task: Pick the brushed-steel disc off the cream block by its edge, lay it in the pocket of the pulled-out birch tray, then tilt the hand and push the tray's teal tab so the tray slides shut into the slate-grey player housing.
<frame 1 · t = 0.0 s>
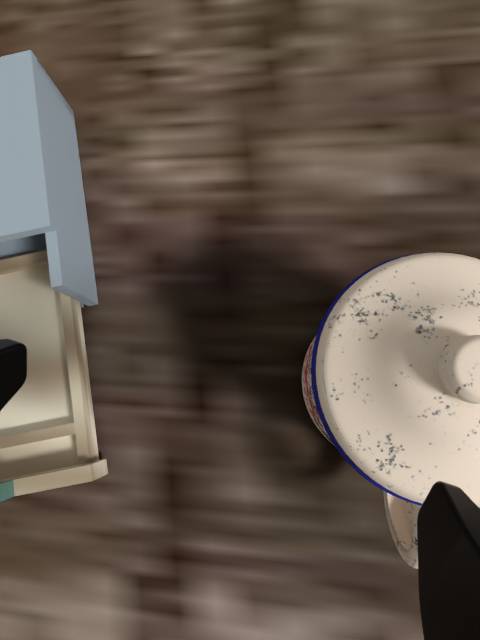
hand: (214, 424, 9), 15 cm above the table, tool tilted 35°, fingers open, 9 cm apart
teacup with lid: (378, 408, 23), on the table
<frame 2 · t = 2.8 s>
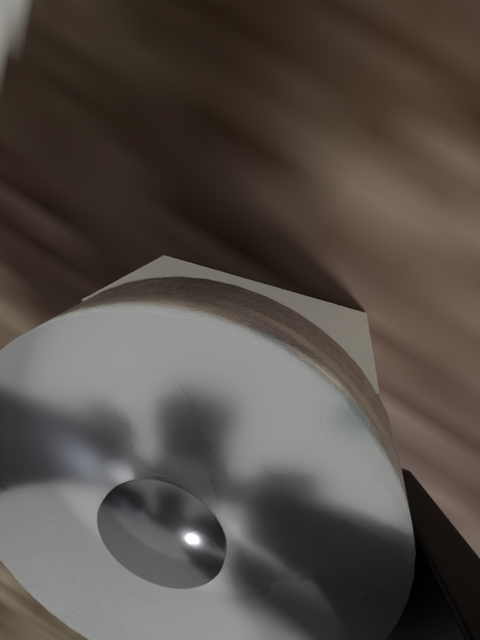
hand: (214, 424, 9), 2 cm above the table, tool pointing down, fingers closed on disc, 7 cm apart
disc: (196, 461, 8), point 4 cm above the table, touching gripper, pedestal
pedestal: (239, 371, 11), on the table
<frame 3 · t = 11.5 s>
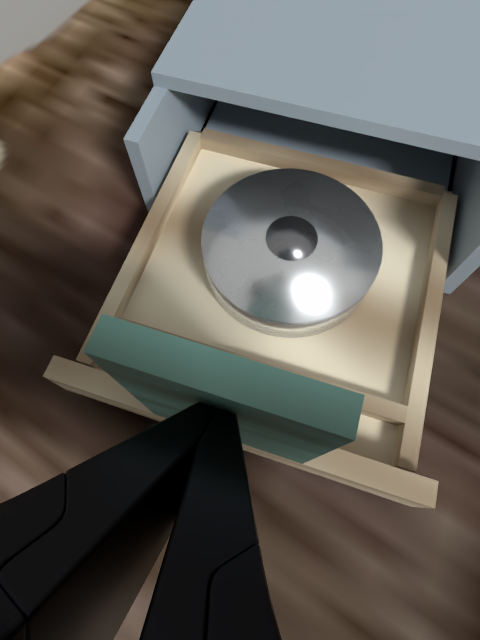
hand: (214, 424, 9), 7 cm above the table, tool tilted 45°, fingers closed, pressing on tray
housing: (322, 154, 21), on the table
disc: (287, 260, 17), point 1 cm above the table, touching tray
tray: (290, 227, 14), point 5 cm above the table, slide at 8.2 cm, touching disc, gripper
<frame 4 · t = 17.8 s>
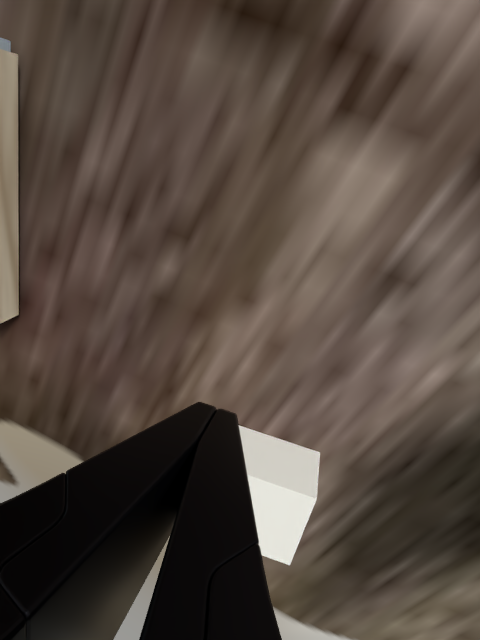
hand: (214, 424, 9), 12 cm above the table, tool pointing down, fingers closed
pedestal: (267, 470, 25), on the table
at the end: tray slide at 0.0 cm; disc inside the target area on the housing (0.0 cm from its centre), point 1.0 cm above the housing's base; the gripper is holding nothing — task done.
